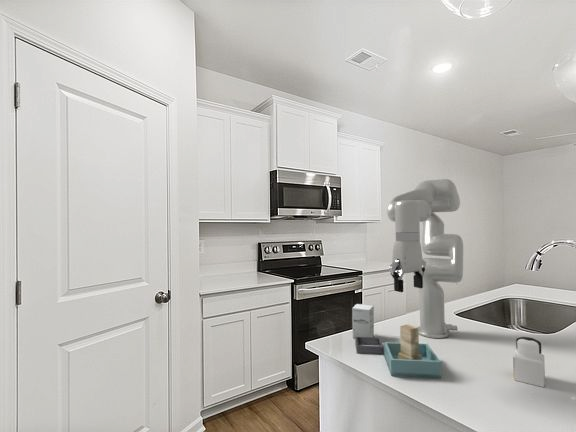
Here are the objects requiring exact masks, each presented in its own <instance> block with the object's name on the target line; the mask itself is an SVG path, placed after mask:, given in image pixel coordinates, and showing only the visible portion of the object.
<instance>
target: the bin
mask: <svg viewBox="0 0 576 432" xmlns="http://www.w3.org/2000/svg"><path fill="white" fill-rule="evenodd" d="M383 346H384V354H383V355H384V356H383V357H384V359H385V361H386V366H387V367H388V371H389V374H390V376H391V377H404V378H425V379H426V378H427V379H442V361H441V360H440V358H438V356H437V354H436V353H435V352H434V351H433V350H432V348H431V347H430V345H429V344H428V343H419V354H420V355H422V360H408V359H398V353H400V352H401V342H392V341H391V342H388V341H385V342H383Z"/></svg>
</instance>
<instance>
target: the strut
mask: <svg viewBox="0 0 576 432" xmlns="http://www.w3.org/2000/svg"><path fill="white" fill-rule="evenodd" d="M418 327H419V326H416V325H412V324H409V323H408V324H403V325H400V327H399V329H400V343H401V352H400V353H398V359H408V360H422V355H420V354H419V342H420V341H419V340H420V338H419V335H420V334H419V332H418Z"/></svg>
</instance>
